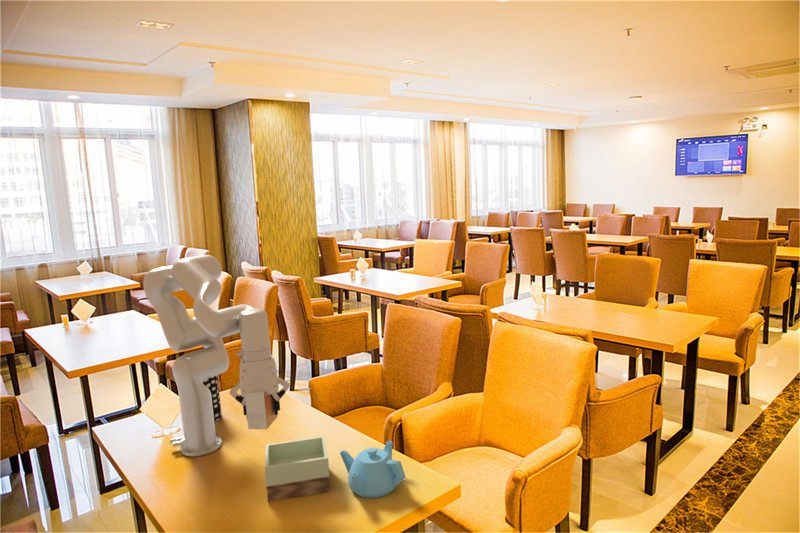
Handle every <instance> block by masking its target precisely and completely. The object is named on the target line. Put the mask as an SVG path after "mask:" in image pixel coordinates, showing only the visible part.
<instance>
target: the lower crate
mask: <svg viewBox="0 0 800 533" xmlns="http://www.w3.org/2000/svg"><path fill="white" fill-rule="evenodd" d="M330 492H332V490H331V479H330V476H328V477H322V478H316V479H310V480H303V481H297V482H291V483H285V484H279V485H273V486H267V487H266V496H267V503H271V501H272V502H277V501H282V500H288V499H294V497H295V498H299V497H300V496H301V497H307V496H312V495H317V494H323V493H330Z"/></svg>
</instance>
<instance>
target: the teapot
mask: <svg viewBox="0 0 800 533" xmlns="http://www.w3.org/2000/svg"><path fill="white" fill-rule="evenodd" d="M339 454H340V457H341V459H342V462H343V463H344V466H345V467H346V468H345V469H346V471H347V473H348V476H347V479H348V480H347V483H348V487H349V488H350V489H351V490H352V491H353V492H354V493H355V494H357V495H358V496H360V497H362V498H368V499H377V498H381V497H382V498H383V497H385V496H387V495H388V494H390V493H392V492H393V491H394V490H395V488H396V487H397V485H399V484H400V483H401V482H403V481H404V479H406V477H407V476H406V474H405V473H406V472H405V471H404V467H403V465H402V462H401V460H394V459H393V441H391V440H388V441H386V442H385V446H384V448H383V449H382V448H376V447H369V448H367V449H363V450H361V451H360V452H359V453H358V454H357V455H356V457H355V458H353V457H352V455H351V454H350V453H349V452H348V451H347V450H346V449H345V450H344V449H342V450H340V452H339Z"/></svg>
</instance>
